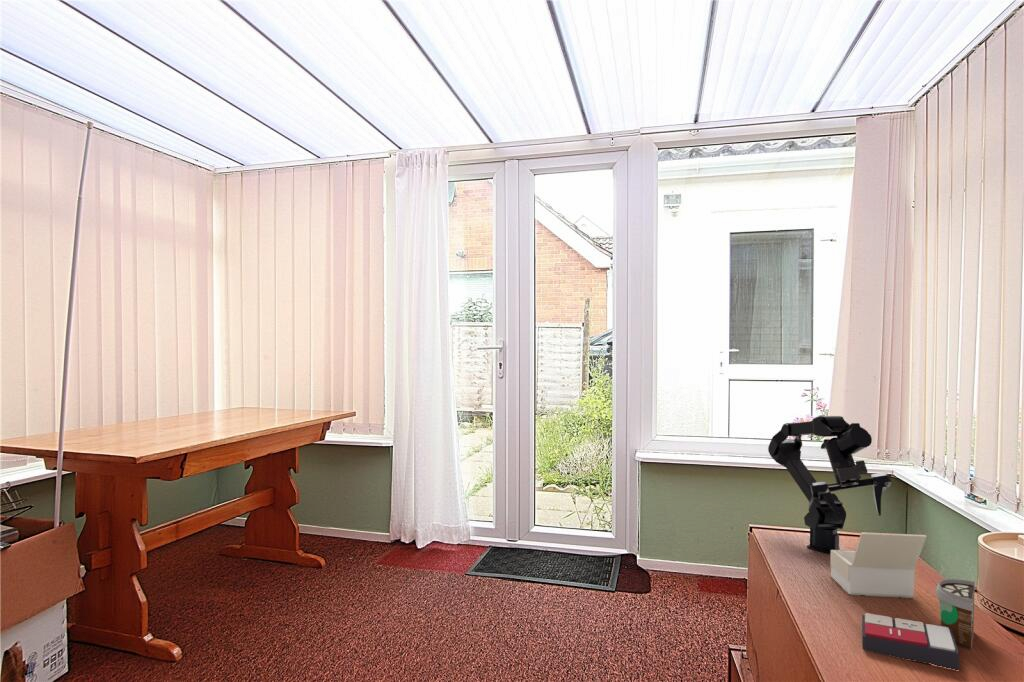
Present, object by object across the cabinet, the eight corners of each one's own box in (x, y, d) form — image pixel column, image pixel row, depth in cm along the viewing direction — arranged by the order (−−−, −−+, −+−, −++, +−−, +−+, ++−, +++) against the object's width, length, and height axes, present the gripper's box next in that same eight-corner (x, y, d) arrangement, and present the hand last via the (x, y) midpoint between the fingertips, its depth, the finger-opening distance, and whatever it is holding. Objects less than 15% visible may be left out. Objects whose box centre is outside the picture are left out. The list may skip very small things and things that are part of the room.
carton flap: (861, 532, 136) (862, 533, 136) (925, 535, 135) (926, 536, 135) (851, 564, 141) (852, 566, 140) (913, 567, 140) (914, 569, 139)
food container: (937, 620, 129) (938, 573, 129) (973, 629, 125) (974, 580, 125) (931, 642, 119) (932, 591, 119) (970, 653, 115) (971, 600, 115)
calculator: (861, 610, 125) (951, 624, 118) (862, 631, 125) (952, 647, 118) (861, 632, 116) (959, 649, 108) (862, 655, 116) (960, 673, 108)
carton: (829, 578, 151) (830, 549, 151) (891, 581, 150) (892, 552, 150) (848, 594, 141) (848, 564, 141) (914, 598, 140) (915, 567, 140)
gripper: (803, 457, 162) (821, 517, 154) (882, 445, 155) (904, 506, 148) (804, 468, 171) (821, 525, 163) (878, 457, 164) (899, 515, 157)
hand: (860, 518), depth 158 cm, fingers open, 9 cm apart
